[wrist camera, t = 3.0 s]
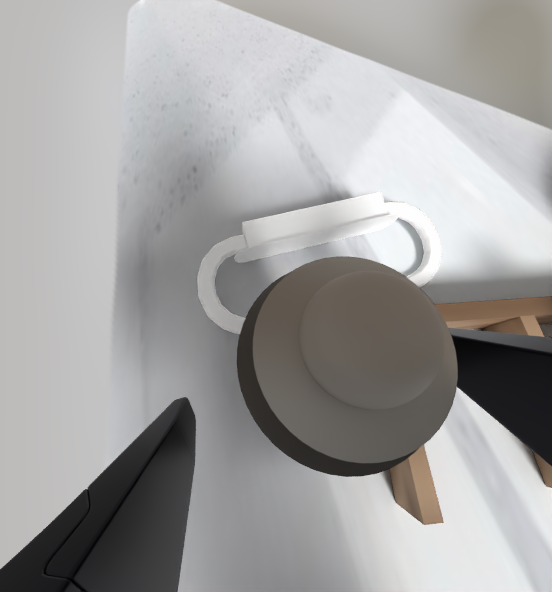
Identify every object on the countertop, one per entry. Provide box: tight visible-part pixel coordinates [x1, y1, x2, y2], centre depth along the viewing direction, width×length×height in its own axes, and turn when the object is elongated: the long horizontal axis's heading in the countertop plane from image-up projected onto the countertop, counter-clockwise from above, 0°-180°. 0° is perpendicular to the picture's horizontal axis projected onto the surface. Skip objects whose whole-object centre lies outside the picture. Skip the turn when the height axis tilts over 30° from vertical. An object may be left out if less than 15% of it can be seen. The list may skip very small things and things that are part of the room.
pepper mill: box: [237, 257, 458, 477], centre depth 11 cm, size 5×5×16 cm
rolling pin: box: [197, 192, 442, 335], centre depth 20 cm, size 20×8×4 cm, turn 106°
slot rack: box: [389, 296, 552, 525], centre depth 17 cm, size 11×20×3 cm, turn 95°
